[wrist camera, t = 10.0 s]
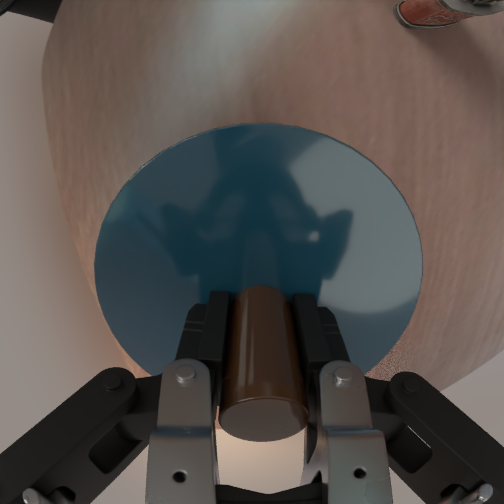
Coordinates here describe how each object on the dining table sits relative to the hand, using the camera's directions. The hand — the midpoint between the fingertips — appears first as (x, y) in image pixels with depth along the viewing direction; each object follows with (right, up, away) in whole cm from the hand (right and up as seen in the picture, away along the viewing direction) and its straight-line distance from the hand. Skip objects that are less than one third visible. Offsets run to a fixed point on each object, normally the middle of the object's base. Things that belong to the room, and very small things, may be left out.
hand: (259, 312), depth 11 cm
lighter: (+16, +24, +5) cm, 29 cm away
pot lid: (0, 0, +1) cm, 1 cm away
